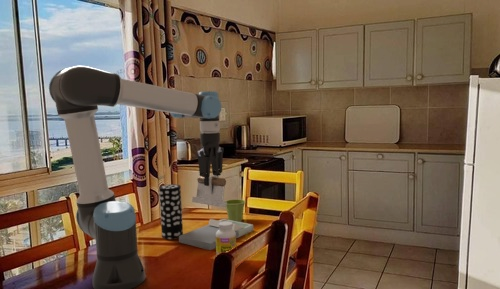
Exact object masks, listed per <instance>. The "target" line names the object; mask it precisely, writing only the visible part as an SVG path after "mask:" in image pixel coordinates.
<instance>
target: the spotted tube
mask: <svg viewBox="0 0 500 289" xmlns="http://www.w3.org/2000/svg"><path fill="white" fill-rule="evenodd" d="M181 187H182V186H181V185H180V184H164V185H160V186H159V187H158V189H159V190H158V191H159V192H158V193H159V194H158V195H159V206H160V207H159V208H160V224H161V238H162V239H164V240H174V239H175V240H176V239H179V236H180V235H183V234H184V231H183V230H184V228H183V224H184V223H183V210H182V205H183V204H182V191H181V190H182V188H181Z"/></svg>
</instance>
